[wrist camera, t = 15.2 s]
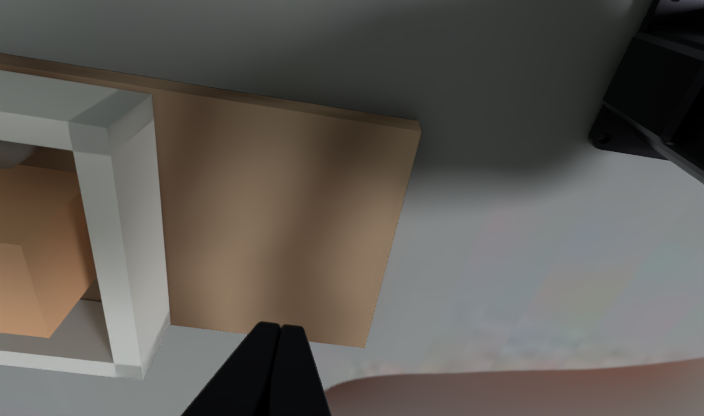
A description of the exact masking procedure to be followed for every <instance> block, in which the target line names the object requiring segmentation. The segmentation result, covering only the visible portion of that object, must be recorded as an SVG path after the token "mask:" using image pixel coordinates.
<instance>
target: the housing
mask: <svg viewBox="0 0 704 416" xmlns="http://www.w3.org/2000/svg"><path fill="white" fill-rule="evenodd" d="M0 140H3V141H10V142H17V143H24V144H31V145H37V146H44V147H51V148H58V149H64V150H71V151H73V154H74V159H75V164H76V170H77V175H78V180H79V185H80V190H81V195H82V201H83V206H84V211H85V216H86V221H87V226H88V232H89V237H90V242H91V247H92V252H93V257H94V263H95V268H96V273H97V278H98V283H99V288H100V294H101V299H102V302H97V301H89V300H81V299H79V300H78V302H77V303H76V304H75V306H74V307H73V308H72V309H71V311H70V312H69V313H68V315H67V316H66V317H65V318H64V320H63V321H62V322H61V324H60V325H59V326H58V327H57V329H56V330H55V331H54V333H53V334H52V335H51V336H50V338H45V337H35V336H26V335H17V334H8V333H0V365H9V366H18V367H27V368H36V369H45V370H55V371H64V372H73V373H82V374H91V375H100V376H109V377H118V378H127V379H137V380H143V379H144V377H145V375H146V373H147V371H148V369H149V367H150V365H151V363H152V361H153V359H154V357H155V355H156V353H157V351H158V349H159V347H160V345H161V343H162V341H163V338H164V336H165V334H166V332H167V330H168V328H169V326H170V324H171V321H170V309H169V297H168V284H167V272H166V260H165V248H164V236H163V224H162V212H161V199H160V187H159V175H158V163H157V151H156V139H155V126H154V114H153V102H152V94H147V93H141V92H135V91H129V90H122V89H116V88H110V87H103V86H97V85H91V84H85V83H78V82H72V81H66V80H59V79H53V78H47V77H41V76H34V75H28V74H22V73H15V72H9V71H3V70H0Z"/></svg>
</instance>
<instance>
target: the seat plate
mask: <svg viewBox="0 0 704 416" xmlns="http://www.w3.org/2000/svg"><path fill="white" fill-rule="evenodd" d="M0 70H3V71H9V72H15V73H22V74H28V75H34V76H41V77H47V78H53V79H59V80H66V81H72V82H78V83H85V84H91V85H97V86H103V87H110V88H116V89H122V90H129V91H135V92H141V93H147V94H152V102H153V114H154V126H155V139H156V151H157V163H158V175H159V187H160V199H161V212H162V224H163V236H164V248H165V260H166V272H167V284H168V297H169V309H170V321H171V324H170V325H177V326H185V327H194V328H202V329H210V330H219V331H227V332H235V333H244V334H249V332H250V331H251V330H252V329H253V328H254V326H255V325H256V324H257V323H258V322H260V321H266V322H274V323H279V324H280V326H282V325H283V324H290V325H298V326H302V327H303V328H304V329H305V332H306V335H307V339H308V341H310V342H319V343H327V344H335V345H344V346H352V347H360V348H365V345H366V341H367V337H368V334H369V330H370V326H371V322H372V318H373V315H374V311H375V307H376V303H377V299H378V296H379V292H380V288H381V284H382V281H383V277H384V273H385V269H386V265H387V262H388V258H389V254H390V250H391V246H392V243H393V239H394V235H395V231H396V227H397V224H398V220H399V216H400V212H401V209H402V205H403V201H404V197H405V193H406V190H407V186H408V182H409V178H410V174H411V171H412V167H413V163H414V159H415V155H416V152H417V148H418V144H419V140H420V137H421V133H422V131H421V128H420V125H419V122H418V121H416V120H409V119H403V118H397V117H391V116H385V115H378V114H372V113H366V112H360V111H354V110H348V109H341V108H335V107H329V106H323V105H317V104H311V103H304V102H298V101H292V100H286V99H280V98H274V97H267V96H261V95H255V94H249V93H243V92H237V91H230V90H224V89H218V88H212V87H206V86H200V85H193V84H187V83H181V82H175V81H169V80H163V79H156V78H150V77H144V76H138V75H132V74H126V73H119V72H113V71H107V70H101V69H95V68H89V67H82V66H76V65H70V64H64V63H58V62H51V61H45V60H39V59H33V58H27V57H21V56H14V55H8V54H2V53H0ZM16 165H24V166H31V167H39V168H46V169H53V170H60V171H67V172H75V173H77V170H76V164H75V159H74V154H73V151H71V150H64V149H58V148H51V147H44V146H37V145H31V144H24V143H17V142H10V141H3V140H0V168H2V169H11V168H13V167H15V166H16ZM80 299H81V300H89V301H97V302H102V299H101V294H100V288H99V283H98V278H97V277H96V279H95V280H94V281H93V282H92V284H91V285H90V286H89V288H88V289H87V290H86V291H85V293H84V294H83V295H82V297H81V298H80Z"/></svg>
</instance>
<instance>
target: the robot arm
mask: <svg viewBox="0 0 704 416" xmlns="http://www.w3.org/2000/svg"><path fill="white" fill-rule="evenodd" d="M603 101H604V103H603V105H602V107H601V109H600V112H599V114H598V116H597V118H596V120H595V122H594V124H593V126H592V128H591V130H590V132H589V136H588V140H589V142H590V143H591V144H592V145H593V146H594V147H595V148H597V149H601V150H607V151H613V152H619V153H626V154H632V155H638V156H644V157H650V158H656V159H663V160H669V161H671V162H673V163H674V164H676V165H677V166H678V167H680V168H681V169H683V170H684V171H686V172H687V173H688V174H690V175H691V176H693V177H694V178H696V179H697V180H698V181H700V182H701V183H703V184H704V0H653V2H652V4H651V6H650V8H649V10H648V12H647V14H646V16H645V18H644V20H643V22H642V24H641V26H640V29H639V31H638V33H637V35H636V36H634V37H633V38H632V40H631V42H630V44H629V46H628V48H627V50H626V52H625V54H624V56H623V58H622V60H621V63H620V65H619V67H618V69H617V71H616V73H615V75H614V77H613V79H612V81H611V83H610V86H609V88H608V90H607V92H606V94H605V96H604V98H603ZM603 133H607V134H606V136H605V138H604V139H602V140H599V137H600V136H601V135H602V134H603ZM181 416H332V415H331V412H330V409H329V406H328V402H327V399H326V396H325V393H324V390H323V386H322V383H321V380H320V377H319V374H318V370H317V367H316V364H315V361H314V358H313V355H312V351H311V348H310V345H309V342H308V339H307V335H306V332H305V329H304V328H303V327H302V326H298V325H290V324H283V325H282V326H280V324H279V323H274V322H266V321H260V322H258V323H257V324H256V325H255V326H254V328H253V329H252V330H251V331H250V332H249V334H248V335H247V336H246V337H245V338H244V340H243V341H242V342H241V343H240V344H239V346H238V347H237V348H236V349H235V351H234V352H233V353H232V354H231V355H230V357H229V358H228V359H227V360H226V361H225V363H224V364H223V365H222V366H221V367H220V369H219V370H218V371H217V372H216V373H215V375H214V376H213V377H212V378H211V380H210V381H209V382H208V383H207V384H206V386H205V387H204V388H203V389H202V390H201V392H200V393H199V394H198V395H197V396H196V398H195V399H194V400H193V401H192V402H191V404H190V405H189V406H188V407H187V409H186V410H185V411H184V412H183V413H182V415H181Z"/></svg>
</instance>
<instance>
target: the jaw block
mask: <svg viewBox="0 0 704 416" xmlns="http://www.w3.org/2000/svg"><path fill="white" fill-rule="evenodd" d="M96 277H97V273H96V268H95V263H94V257H93V252H92V247H91V242H90V237H89V232H88V226H87V221H86V216H85V211H84V206H83V201H82V195H81V190H80V185H79V180H78V175H77V173H75V172H67V171H60V170H53V169H46V168H39V167H31V166H24V165H16V166H15V167H13V168H11V169H2V168H0V333H8V334H17V335H26V336H35V337H45V338H50V336H51V335H52V334H53V333H54V331H55V330H56V329H57V327H58V326H59V325H60V324H61V322H62V321H63V320H64V318H65V317H66V316H67V315H68V313H69V312H70V311H71V309H72V308H73V307H74V306H75V304H76V303H77V302H78V300H79V299H80V298H81V297H82V295H83V294H84V293H85V291H86V290H87V289H88V288H89V286H90V285H91V284H92V282H93V281H94V280H95V279H96Z"/></svg>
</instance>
